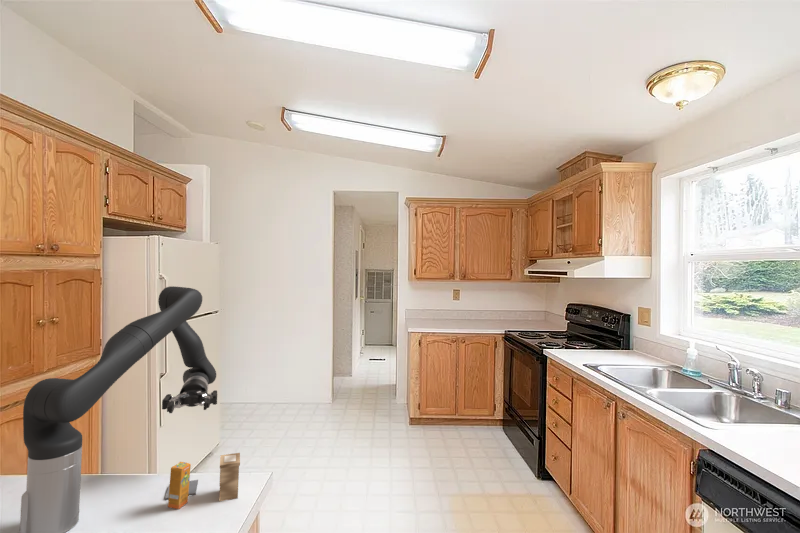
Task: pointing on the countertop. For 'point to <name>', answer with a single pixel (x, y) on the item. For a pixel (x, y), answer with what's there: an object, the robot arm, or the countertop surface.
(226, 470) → the box
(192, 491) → the coaster
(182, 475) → the supplement box
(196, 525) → the countertop surface
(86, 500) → the countertop surface
